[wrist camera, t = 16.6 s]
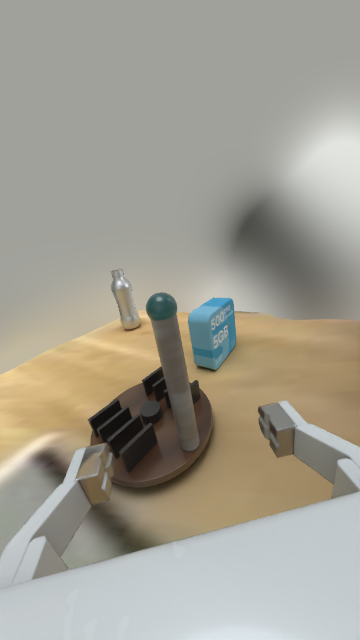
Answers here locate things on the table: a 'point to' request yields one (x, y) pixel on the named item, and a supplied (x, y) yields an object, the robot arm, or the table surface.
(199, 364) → the data package
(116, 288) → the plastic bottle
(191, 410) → the ball-top lever
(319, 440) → the robot arm
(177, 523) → the table surface
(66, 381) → the table surface
